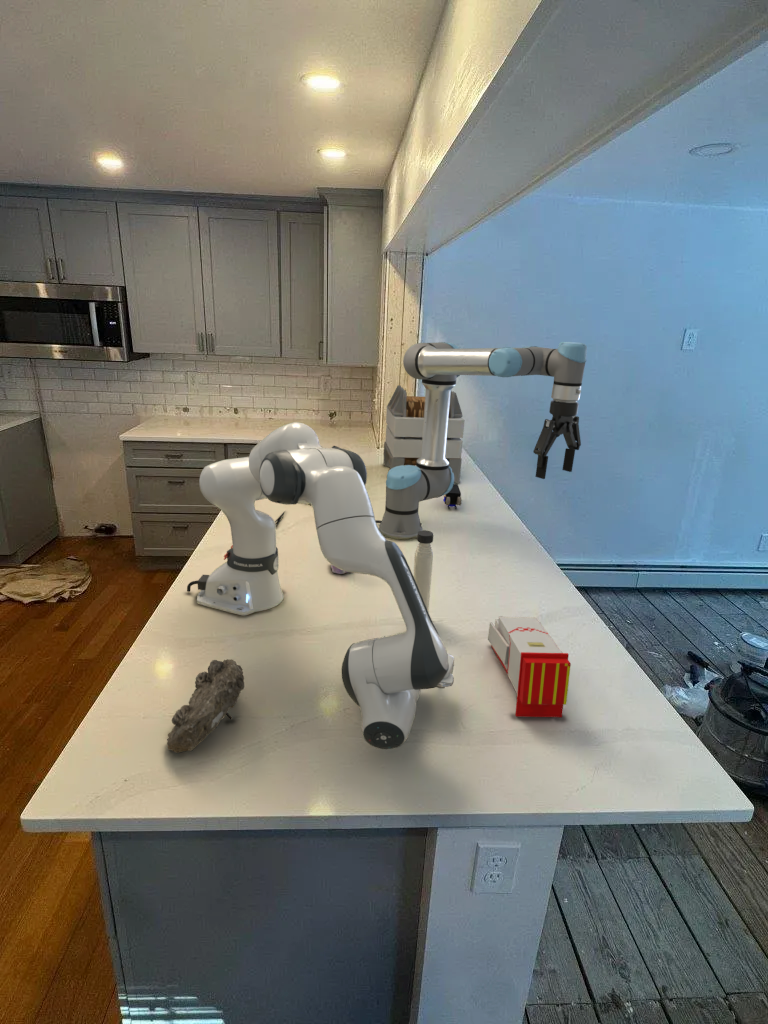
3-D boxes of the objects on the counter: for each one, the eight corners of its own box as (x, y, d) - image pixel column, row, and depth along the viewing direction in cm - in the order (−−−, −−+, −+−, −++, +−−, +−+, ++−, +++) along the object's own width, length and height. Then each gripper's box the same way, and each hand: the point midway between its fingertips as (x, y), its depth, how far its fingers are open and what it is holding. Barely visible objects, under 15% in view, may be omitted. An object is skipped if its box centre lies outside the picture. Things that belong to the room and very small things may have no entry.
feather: (291, 505, 226) (294, 501, 225) (275, 529, 199) (277, 524, 199) (288, 503, 226) (290, 499, 225) (270, 526, 199) (273, 522, 199)
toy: (534, 602, 136) (579, 659, 107) (529, 653, 139) (572, 723, 110) (484, 601, 136) (516, 658, 107) (480, 652, 139) (510, 722, 109)
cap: (415, 542, 136) (415, 534, 136) (419, 536, 140) (419, 529, 139) (430, 544, 135) (431, 537, 135) (434, 539, 139) (435, 531, 138)
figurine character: (461, 514, 225) (456, 498, 239) (463, 497, 222) (458, 482, 235) (444, 513, 225) (440, 498, 239) (446, 496, 222) (442, 481, 235)
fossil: (192, 660, 117) (244, 628, 112) (224, 691, 120) (276, 661, 115) (142, 746, 98) (202, 712, 93) (182, 779, 101) (242, 748, 96)
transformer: (382, 463, 289) (386, 382, 275) (445, 464, 293) (451, 384, 279) (390, 482, 257) (394, 392, 243) (460, 483, 261) (468, 394, 247)
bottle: (408, 623, 144) (414, 536, 136) (412, 614, 148) (418, 530, 140) (425, 626, 142) (432, 539, 134) (429, 617, 146) (436, 532, 138)
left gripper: (453, 674, 107) (458, 635, 119) (348, 659, 110) (363, 623, 123) (451, 702, 109) (456, 661, 121) (347, 686, 112) (362, 648, 125)
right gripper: (550, 405, 147) (539, 484, 154) (600, 399, 162) (588, 470, 169) (526, 401, 152) (517, 477, 159) (577, 395, 168) (566, 465, 175)
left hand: (408, 642), depth 122 cm, fingers open, 8 cm apart
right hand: (553, 474), depth 164 cm, fingers open, 13 cm apart
